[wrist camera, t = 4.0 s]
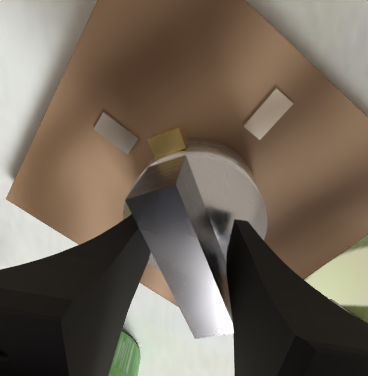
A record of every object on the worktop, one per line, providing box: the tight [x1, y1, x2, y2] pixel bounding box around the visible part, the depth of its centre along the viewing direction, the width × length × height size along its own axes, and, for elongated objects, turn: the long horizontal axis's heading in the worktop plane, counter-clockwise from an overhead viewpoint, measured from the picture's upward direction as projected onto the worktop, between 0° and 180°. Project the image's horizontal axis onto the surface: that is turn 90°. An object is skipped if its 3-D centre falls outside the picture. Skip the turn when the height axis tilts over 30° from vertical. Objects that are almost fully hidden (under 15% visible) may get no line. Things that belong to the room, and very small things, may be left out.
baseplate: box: [6, 0, 368, 307], centre depth 16 cm, size 20×18×2 cm
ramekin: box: [109, 331, 140, 376], centre depth 24 cm, size 9×9×4 cm
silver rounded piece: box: [123, 124, 267, 339], centre depth 12 cm, size 8×7×7 cm
